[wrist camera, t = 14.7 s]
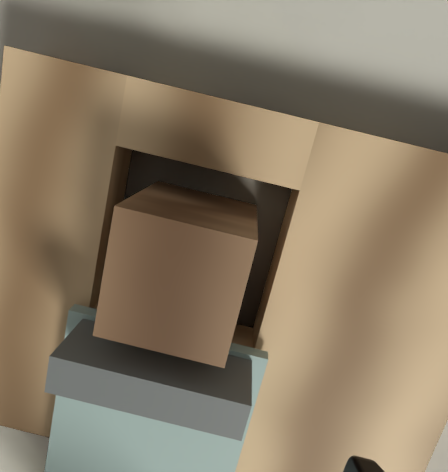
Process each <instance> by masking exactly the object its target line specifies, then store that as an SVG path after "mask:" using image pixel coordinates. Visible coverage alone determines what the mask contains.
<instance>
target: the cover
mask: <svg viewBox="0 0 448 472" xmlns="http://www.w3.org/2000/svg"><path fill="white" fill-rule="evenodd" d="M96 312H97V309H94V308H90V307H86V306H82V305H78V304H74V305H73V306H72V307H71V308H70V309H69V311H68V318H67V324H66V331H65V338H64V340H63V341H62V342H61V344H60V345H59V346H58V347H57V348H56V349H55V350H54V351H53V353H52V354H51V355H50V356H49V362H48V369H47V376H46V384H45V391H44V392H46V393H50V394H54V395H56V398H55V405H54V411H53V418H52V425H51V431H50V438H49V445H48V452H47V458H46V465H45V472H235V470H236V467H237V464H238V460H239V457H240V453H241V450H242V447H243V443H244V440H245V437H246V433H247V430H248V427H249V423H250V420H251V416H252V413H253V410H254V406H255V403H256V400H257V396H258V393H259V390H260V386H261V383H262V379H263V376H264V373H265V369H266V366H267V363H268V352H267V351H263V350H259V349H255V348H251V347H247V346H243V345H239V344H235V343H231V346H230V349H229V353H228V357H227V361H226V364H225V368H221V367H217V366H213V365H209V364H205V363H201V362H197V361H193V360H189V359H185V358H181V357H177V356H173V355H169V354H164V353H160V352H156V351H152V350H148V349H144V348H140V347H136V346H132V345H128V344H124V343H120V342H116V341H112V340H108V339H104V338H99V337H95V336H93V330H94V324H95V318H96Z"/></svg>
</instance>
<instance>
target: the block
mask: <svg viewBox="0 0 448 472" xmlns="http://www.w3.org/2000/svg"><path fill="white" fill-rule="evenodd" d="M257 243H258V222H257V205H255V204H251V203H247V202H243V201H239V200H234V199H230V198H226V197H222V196H218V195H214V194H210V193H206V192H201V191H197V190H193V189H189V188H185V187H181V186H177V185H173V184H169V183H164V182H160V181H157V182H156V183H154V184H152V185H150V186H148V187H147V188H145V189H143V190H141V191H140V192H138V193H136V194H134V195H132V196H131V197H129V198H127V199H125V200H124V201H122V202H120V203H118V204H117V205H115V206H114V210H113V216H112V222H111V228H110V234H109V240H108V246H107V252H106V258H105V264H104V270H103V276H102V282H101V288H100V294H99V300H98V306H97V312H96V318H95V324H94V330H93V336H95V337H99V338H104V339H108V340H112V341H116V342H120V343H124V344H128V345H132V346H136V347H140V348H144V349H148V350H152V351H156V352H160V353H164V354H169V355H173V356H177V357H181V358H185V359H189V360H193V361H197V362H201V363H205V364H209V365H213V366H217V367H221V368H225V364H226V361H227V357H228V353H229V349H230V346H231V342H232V338H233V334H234V330H235V327H236V323H237V319H238V315H239V312H240V308H241V304H242V300H243V296H244V293H245V289H246V285H247V281H248V277H249V274H250V270H251V266H252V262H253V259H254V255H255V251H256V247H257Z"/></svg>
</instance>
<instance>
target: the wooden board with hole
mask: <svg viewBox="0 0 448 472" xmlns="http://www.w3.org/2000/svg"><path fill="white" fill-rule="evenodd" d="M132 150H136V151H140V152H144V153H148V154H152V155H156V156H161V157H165V158H169V159H173V160H177V161H181V162H185V163H189V164H193V165H197V166H201V167H205V168H210V169H214V170H218V171H222V172H226V173H230V174H234V175H238V176H242V177H246V178H250V179H254V180H259V181H263V182H267V183H271V184H275V185H279V186H283V187H287V188H291V189H292V191H291V194H290V198H289V201H288V205H287V208H286V212H285V216H284V219H283V223H282V226H281V230H280V233H279V237H278V241H277V244H276V248H275V251H274V255H273V258H272V262H271V266H270V269H269V273H268V276H267V280H266V283H265V287H264V291H263V294H262V298H261V301H260V305H259V308H258V312H257V316H256V319H255V323H254V326H253V328H251V327H247V326H243V325H239V324H236V327H235V330H234V334H233V338H232V342H231V343H235V344H239V345H243V346H247V347H251V348H255V349H259V350H263V351H267V352H268V363H267V366H266V369H265V373H264V376H263V379H262V383H261V386H260V390H259V393H258V396H257V400H256V403H255V406H254V410H253V413H252V416H251V420H250V423H249V427H248V430H247V433H246V437H245V440H244V443H243V447H242V450H241V453H240V457H239V460H238V464H237V467H236V470H235V472H343V470H344V468H345V465H346V463H347V460H348V459H349V458H350V457H351V456H353V455H355V456H359V457H363V458H367V459H371V460H374V461H375V462H376V463H377V464H378V465H379V466H380V467H381V468H382V469H383V470H384V471H385V472H425V470H426V467H427V465H428V463H429V461H430V458H431V456H432V454H433V452H434V449H435V447H436V445H437V443H438V440H439V438H440V436H441V434H442V431H443V429H444V427H445V425H446V422H447V420H448V153H444V152H440V151H435V150H431V149H427V148H423V147H419V146H415V145H411V144H407V143H403V142H399V141H394V140H390V139H386V138H382V137H378V136H374V135H370V134H366V133H362V132H357V131H353V130H349V129H345V128H341V127H337V126H333V125H329V124H325V123H321V122H316V121H312V120H308V119H304V118H300V117H296V116H292V115H288V114H284V113H279V112H275V111H271V110H267V109H263V108H259V107H255V106H251V105H247V104H243V103H238V102H234V101H230V100H226V99H222V98H218V97H214V96H210V95H206V94H201V93H197V92H193V91H189V90H185V89H181V88H177V87H173V86H169V85H165V84H160V83H156V82H152V81H148V80H144V79H140V78H136V77H132V76H128V75H123V74H119V73H115V72H111V71H107V70H103V69H99V68H95V67H91V66H87V65H82V64H78V63H74V62H70V61H66V60H62V59H58V58H54V57H50V56H45V55H41V54H37V53H33V52H29V51H25V50H21V49H17V48H13V47H9V46H4V52H3V63H2V75H1V86H0V425H1V426H5V427H9V428H13V429H17V430H21V431H25V432H29V433H33V434H37V435H41V436H45V437H49V438H50V431H51V425H52V418H53V411H54V405H55V398H56V395H54V394H50V393H46V392H44V391H45V384H46V376H47V369H48V362H49V356H50V355H51V354H52V353H53V351H54V350H55V349H56V348H57V347H58V346H59V345H60V344H61V342H62V341H63V340H64V338H65V331H66V324H67V318H68V311H69V309H70V308H71V307H72V306H73V305H74V304H78V305H82V306H86V307H90V308H94V309H97V306H98V300H99V294H100V288H101V282H102V276H103V270H104V264H105V258H106V252H107V246H108V240H109V234H110V228H111V222H112V216H113V210H114V206H115V205H117V204H118V203H120V202H122V201H123V200H124V194H125V189H126V183H127V177H128V171H129V166H130V160H131V154H132Z"/></svg>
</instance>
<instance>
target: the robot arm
mask: <svg viewBox="0 0 448 472" xmlns="http://www.w3.org/2000/svg"><path fill="white" fill-rule="evenodd" d="M343 472H385V471H384V470H383V469H382V468H381V467H380V466H379V465H378V464H377V463H376V462H375V461H374V460H371V459H367V458H363V457H359V456H355V455H353V456H351V457H350V458H349V459H348V460H347V463H346V465H345V468H344V470H343Z"/></svg>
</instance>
